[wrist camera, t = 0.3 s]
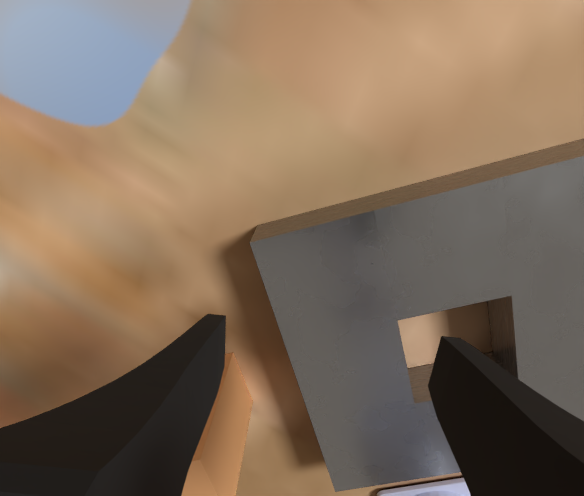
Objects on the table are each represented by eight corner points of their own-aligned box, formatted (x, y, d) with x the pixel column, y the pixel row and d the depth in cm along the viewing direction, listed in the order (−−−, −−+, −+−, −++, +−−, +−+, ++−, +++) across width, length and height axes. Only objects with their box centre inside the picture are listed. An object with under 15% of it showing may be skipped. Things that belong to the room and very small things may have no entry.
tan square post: (252, 401, 25) (231, 520, 18) (196, 412, 26) (152, 532, 18) (232, 352, 24) (200, 459, 16) (174, 365, 25) (116, 474, 17)
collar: (595, 407, 24) (633, 444, 22) (332, 452, 27) (335, 491, 24) (599, 134, 18) (653, 137, 15) (257, 225, 21) (249, 242, 18)
